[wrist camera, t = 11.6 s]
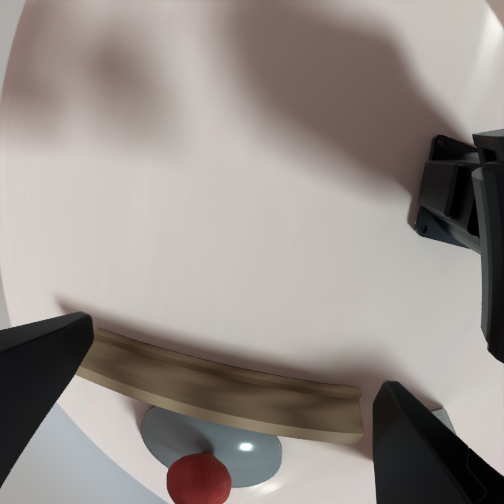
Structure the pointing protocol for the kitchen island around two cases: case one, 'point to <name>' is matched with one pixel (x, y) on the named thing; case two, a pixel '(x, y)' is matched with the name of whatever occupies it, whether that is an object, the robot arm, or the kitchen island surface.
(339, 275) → the kitchen island surface
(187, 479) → the onion
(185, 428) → the slate plate
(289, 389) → the walnut screen
